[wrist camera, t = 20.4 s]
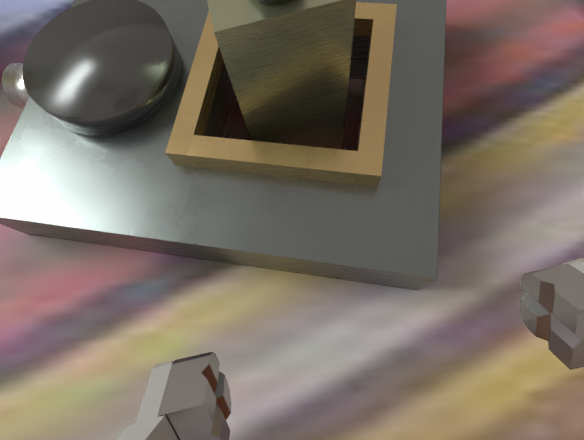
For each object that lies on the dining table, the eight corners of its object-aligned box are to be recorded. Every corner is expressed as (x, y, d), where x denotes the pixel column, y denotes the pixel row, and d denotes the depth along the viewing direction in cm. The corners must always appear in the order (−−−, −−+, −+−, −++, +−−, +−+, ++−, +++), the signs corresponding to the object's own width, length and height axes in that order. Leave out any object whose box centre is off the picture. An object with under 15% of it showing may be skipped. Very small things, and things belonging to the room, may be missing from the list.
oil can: (261, 170, 19) (181, -63, 8) (243, 93, 21) (157, -183, 10) (342, 150, 19) (366, -109, 8) (317, 74, 21) (311, -221, 10)
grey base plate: (-16, 227, 20) (-110, 193, 15) (85, 3, 25) (35, -69, 20) (417, 290, 17) (449, 270, 12) (431, 21, 22) (457, -58, 18)
